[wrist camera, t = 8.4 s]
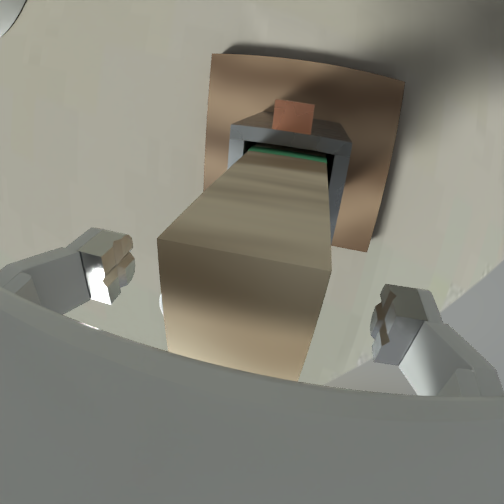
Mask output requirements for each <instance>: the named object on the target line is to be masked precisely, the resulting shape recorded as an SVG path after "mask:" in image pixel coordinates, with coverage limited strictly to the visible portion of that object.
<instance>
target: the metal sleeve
mask: <svg viewBox="0 0 504 504" xmlns="http://www.w3.org/2000/svg"><path fill="white" fill-rule="evenodd" d="M314 108H315V104H309V103H302V102H296V101H289V100H281V99H275V107H274V112H266V111H262V112H260V113H257V114H255V115H252V116H250V117H247V118H245V119H242V120H240V121H237V122H235V123H233V124H231V127H230V140H229V153H228V167H227V170H228V169H229V168H230V167H231V166H232V165H233V164H234V163H235V162H236V161H238V160H239V159H240V158H241V157H242V156H243V155H244V154H245V153H246V152H248V150H249V149H250V148H251V147H252V146H254V145H255V144H257V143H258V142H261V143H268V144H275V145H282V146H289V147H295V148H301V149H307V150H313V151H318V152H324V153H326V158H327V177H328V192H329V210H330V232H331V244H332V240H333V236H334V231H335V227H336V223H337V218H338V214H339V209H340V204H341V200H342V195H343V190H344V185H345V181H346V176H347V170H348V165H349V160H350V155H351V149H352V144H353V143H352V141H351V139H350V138H349V136H348V135H347V133H346V131H345V130H344V128H343V127H342V125H341V123H337V122H331V121H326V120H320V119H314V118H313V115H314Z"/></svg>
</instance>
